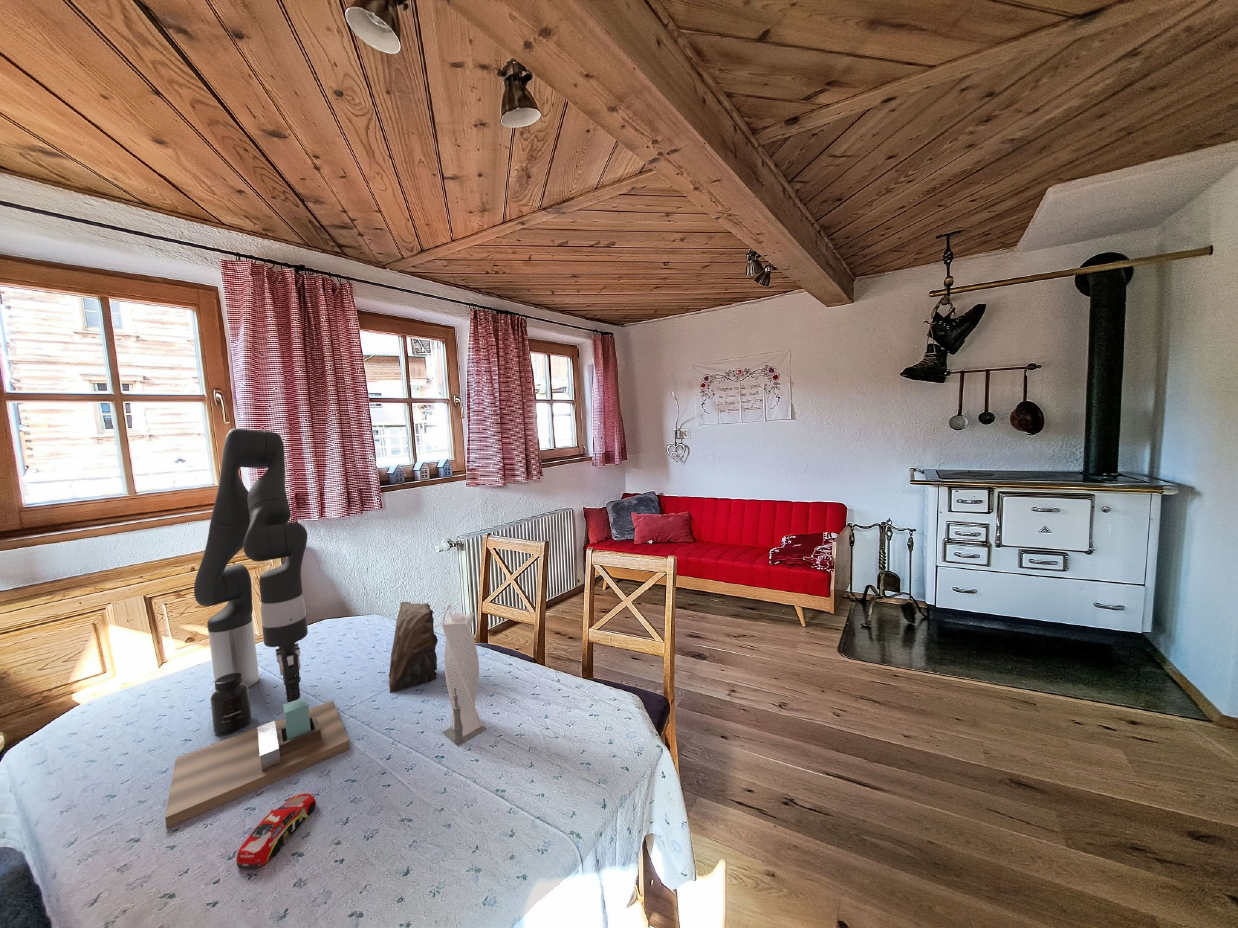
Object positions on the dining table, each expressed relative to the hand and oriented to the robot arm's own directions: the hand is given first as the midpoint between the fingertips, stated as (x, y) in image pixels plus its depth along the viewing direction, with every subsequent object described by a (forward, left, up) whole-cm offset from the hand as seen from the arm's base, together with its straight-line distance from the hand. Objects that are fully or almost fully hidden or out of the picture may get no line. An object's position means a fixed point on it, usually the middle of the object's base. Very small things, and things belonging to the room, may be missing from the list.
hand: (291, 691), depth 97 cm
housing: (-2, -6, -13) cm, 14 cm away
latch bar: (0, -5, -11) cm, 12 cm away
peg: (0, 0, -11) cm, 11 cm away
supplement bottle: (-21, -11, -13) cm, 27 cm away
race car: (+24, -5, -14) cm, 28 cm away
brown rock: (-12, +26, -13) cm, 32 cm away
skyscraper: (+19, +29, -14) cm, 38 cm away
